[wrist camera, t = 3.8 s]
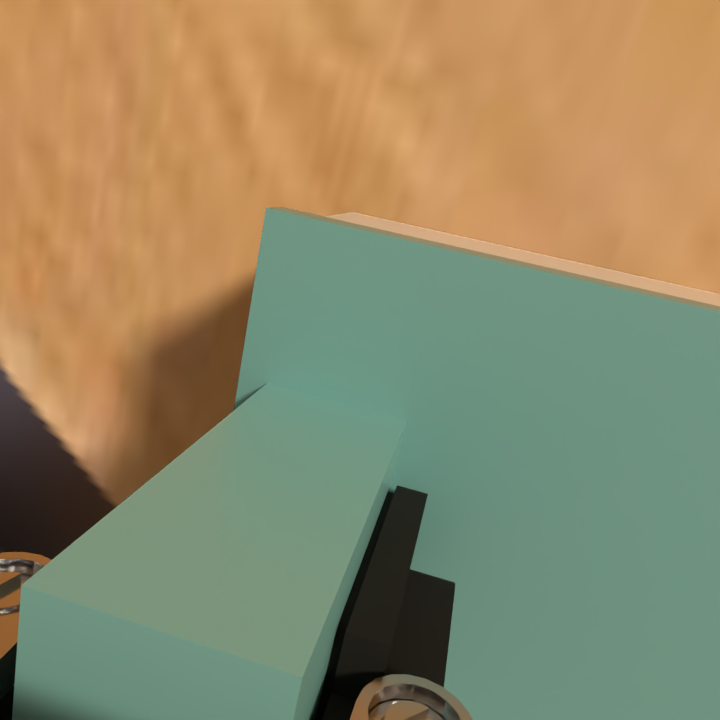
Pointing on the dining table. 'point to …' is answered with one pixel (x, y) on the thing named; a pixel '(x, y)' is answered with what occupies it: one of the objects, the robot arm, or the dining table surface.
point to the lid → (421, 473)
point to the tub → (532, 258)
